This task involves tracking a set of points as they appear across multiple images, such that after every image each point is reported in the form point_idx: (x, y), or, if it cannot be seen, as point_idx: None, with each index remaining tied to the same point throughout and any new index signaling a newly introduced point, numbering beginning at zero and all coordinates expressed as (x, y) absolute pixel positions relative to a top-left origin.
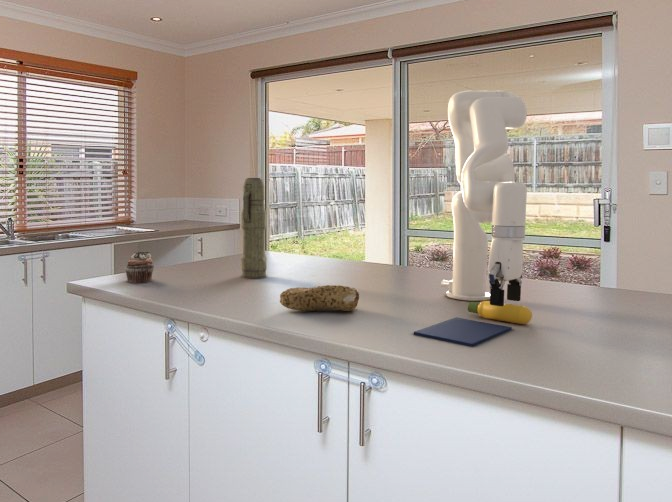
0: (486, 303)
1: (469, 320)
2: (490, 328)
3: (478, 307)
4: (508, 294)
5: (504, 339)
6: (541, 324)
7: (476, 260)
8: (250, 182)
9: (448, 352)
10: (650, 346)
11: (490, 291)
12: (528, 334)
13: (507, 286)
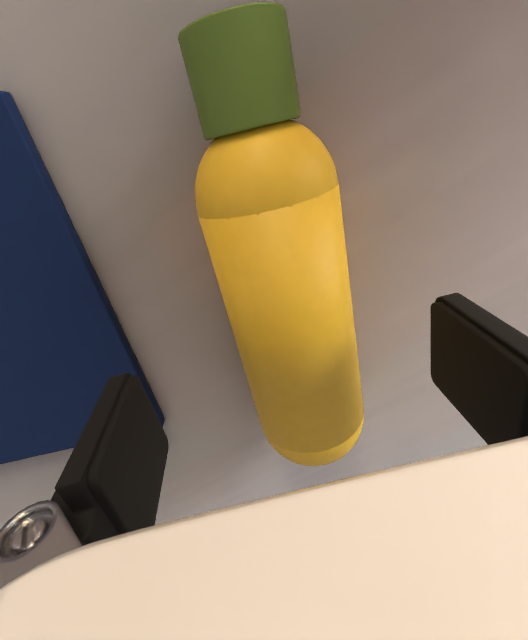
0: (231, 238)
1: (39, 227)
2: (36, 403)
3: (199, 168)
4: (455, 331)
5: (8, 489)
6: (369, 417)
7: None
8: None
9: None
10: None
11: (69, 460)
12: (166, 482)
13: (523, 354)
